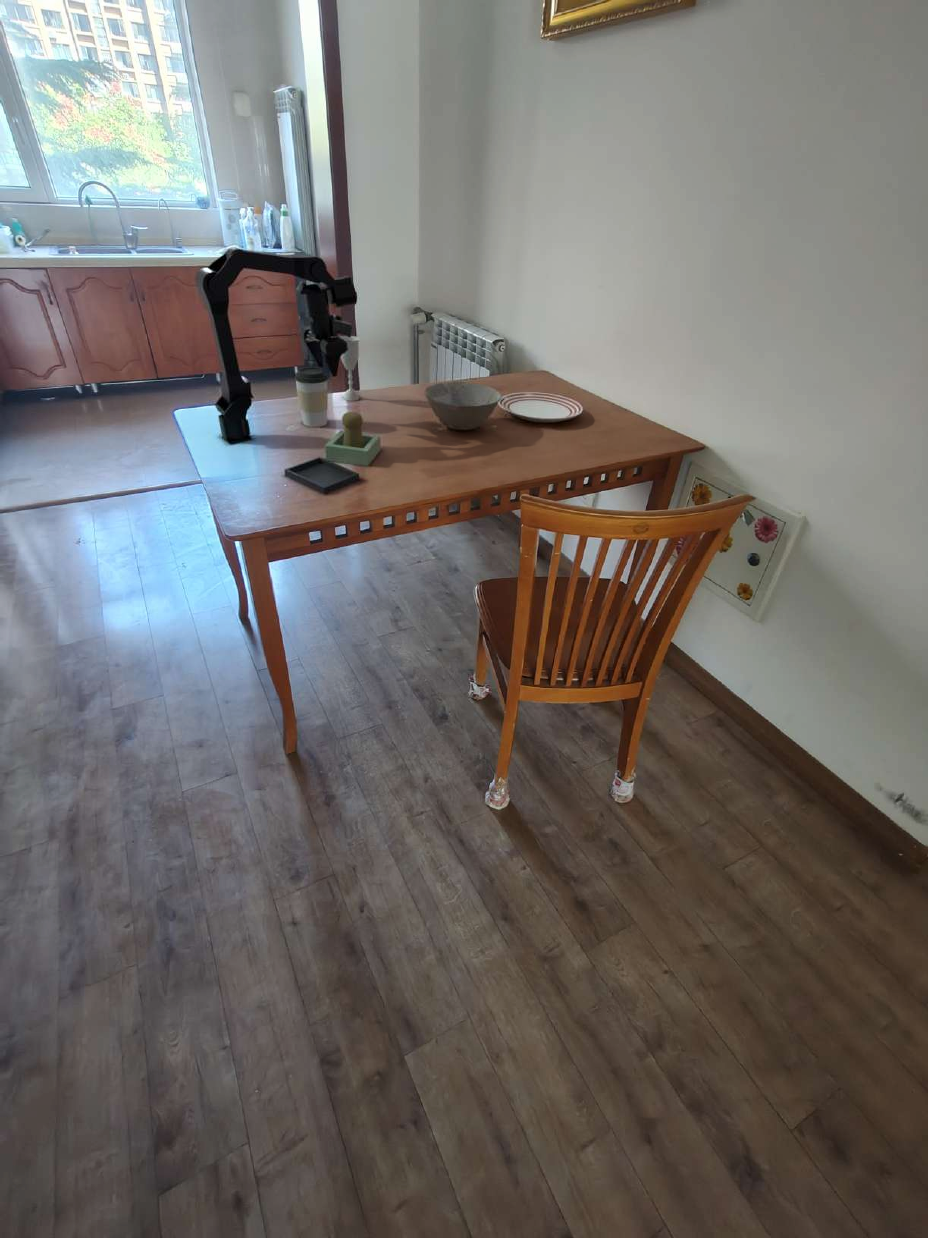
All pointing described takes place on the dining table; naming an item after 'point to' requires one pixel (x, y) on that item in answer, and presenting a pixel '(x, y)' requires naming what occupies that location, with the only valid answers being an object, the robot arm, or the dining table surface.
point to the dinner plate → (540, 407)
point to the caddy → (352, 450)
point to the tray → (322, 475)
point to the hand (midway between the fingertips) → (327, 371)
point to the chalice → (350, 364)
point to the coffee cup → (312, 395)
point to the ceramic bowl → (462, 403)
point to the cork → (352, 430)
